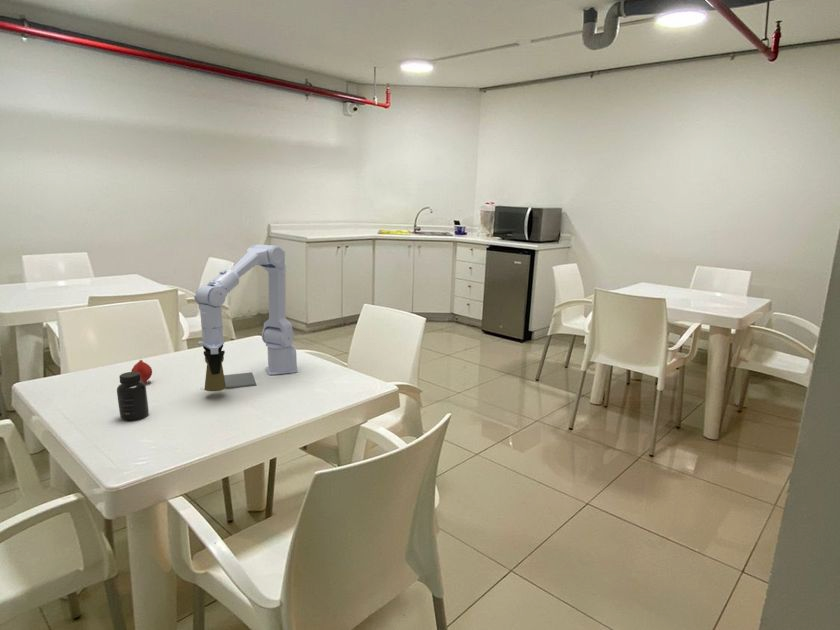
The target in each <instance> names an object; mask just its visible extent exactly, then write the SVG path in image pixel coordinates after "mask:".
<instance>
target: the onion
mask: <svg viewBox="0 0 840 630" xmlns="http://www.w3.org/2000/svg"><path fill="white" fill-rule="evenodd" d="M130 372H139V373H140V377H141V380H140V381H142V382H143V383H145V384H146V382H147V381H149V379H150V378H151V377H152V375H153V369H152V367H151V366H150V364H148V363H146V362H144V361H143V359H140V360H139V361H138V362H136V363H135V365H133V367H132V369H131V371H130Z"/></svg>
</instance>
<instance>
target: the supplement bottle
mask: <svg viewBox="0 0 840 630" xmlns="http://www.w3.org/2000/svg"><path fill="white" fill-rule="evenodd" d="M140 380H141V377H140V373H139V372H131V371H128V372H124V373H121V374H119V383H120V384H119V385H118V386H117V388H116V397H117V404H118V411H119V418H120V419H121V420H122V421H124V422H134V421H135V422H136V421H140V420H142V419H145V418H146V417H147V416H148V415H149V414H150V413H149V412H150V411H149V402H148V393H147V386H146V382H145V383H143V382H142V381H140Z"/></svg>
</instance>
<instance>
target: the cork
mask: <svg viewBox="0 0 840 630" xmlns="http://www.w3.org/2000/svg"><path fill="white" fill-rule="evenodd" d="M224 357H225V356H223V358H222V361H221V368H220V373H219V374H213V375H212V373H211V370H210V366H209V363H208V360H207V359H206V357H205V356H204V361H205V363H206V372H205V381H204V387H203V388H204V391H207V392H220V391H223V390H226V389H225V388H226V384H225V379H224V375H225V374H224V369H223V363H224Z"/></svg>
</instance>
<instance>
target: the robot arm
mask: <svg viewBox="0 0 840 630" xmlns="http://www.w3.org/2000/svg"><path fill="white" fill-rule="evenodd" d="M285 254H286V253H285V251H284V249H283V248H282V247H281V246H279V245H278V244H277V245H276V244H275V245H270V244H259V243H253V244H252V245H251V246H250V247H248V248H247V250H246V253H245V254H244V255H243V256H242V257H241V258H240V259H239V261H237V262H236V263H235V264H234V265H233V267H231V269H228V268H226V269H221V270H220V271H219V272H218V273H219V274H218V275H216V276H215V277H214V278H213V279H211V280H209V281H208V283H207V284H204V285H201V286H199V287H198V288H197V289H196V291H195V295H193V297H194V301H195V302H196V303H197V305H198V310H199V312H200V324H201V326H200V327H201V338H202V340H200V341H198V343H197V344H198V346H202V348H203V349H204V350H203V355H204V358H205V357H206V359H207V360H208V363H209V366H210V370H211V373H212V375H213V374H219V373H220V368H221V361H222V358H223V356H224V355H225V353H226V352H225V350H223V347H224V344H225V340H224V328H223V313H222V311H223V310H222V306H223V305H224V303H225V301H226V297H227V296H228V294H229V293H230V292H232V290H233V289H235V288H236V287H237V286H238V285H239V283H240V279H241V277H243V276H244V275H245V274H246V273H247V272H249V271H250V270H251V269H252V268H254V267H255V266H260V267H262V268H263V269H264V270H265V271H266V272H267V273H268V319H267V320H265V322H263V329H262V333H261V340H262V341H263V342H264V344H265V346H266V347H267V366H266V367H265V369H266V372H267V373H268V375H269V376H273V375H275V376H276V375H285V374H293V373H294V374H295V373H297V372H298V361H297V348H296V345H295V344H293V342H294V340H295V333H294V331H293V324H292V323H291V322H290V321H289V320H288V318H286V317H287V315H286V314H287V313H286V303H287V301H286V298H287V297H286V294H287V293H286V291H287V290H286V279H287V278H286V268H287V267H286V263H285V261H286V260H285V257H286V255H285ZM224 357H225V356H224Z"/></svg>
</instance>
